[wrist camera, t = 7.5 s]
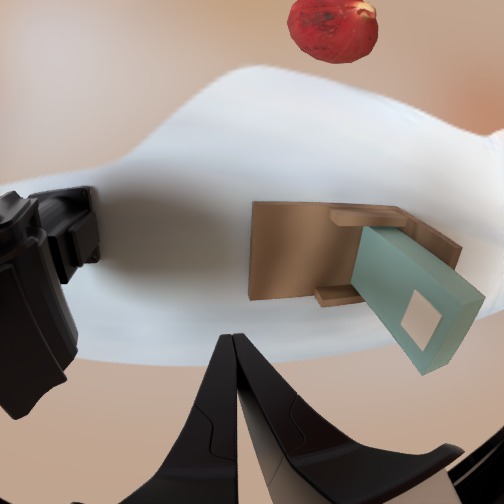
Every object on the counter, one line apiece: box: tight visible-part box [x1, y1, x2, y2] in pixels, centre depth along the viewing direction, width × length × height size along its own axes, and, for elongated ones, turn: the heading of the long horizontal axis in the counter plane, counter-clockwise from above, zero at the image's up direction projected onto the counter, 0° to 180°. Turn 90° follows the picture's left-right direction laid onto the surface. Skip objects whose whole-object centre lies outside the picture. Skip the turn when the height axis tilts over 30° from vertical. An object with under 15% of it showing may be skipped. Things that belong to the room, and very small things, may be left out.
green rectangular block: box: [350, 226, 485, 376], centre depth 18 cm, size 3×6×12 cm, turn 177°
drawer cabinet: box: [248, 202, 462, 308], centre depth 20 cm, size 14×9×9 cm, turn 87°
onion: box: [287, 0, 378, 64], centre depth 12 cm, size 6×6×8 cm
